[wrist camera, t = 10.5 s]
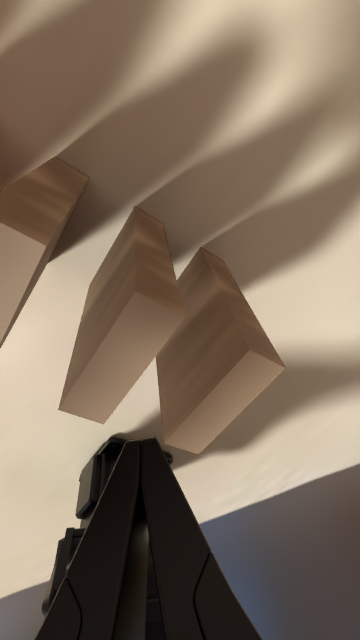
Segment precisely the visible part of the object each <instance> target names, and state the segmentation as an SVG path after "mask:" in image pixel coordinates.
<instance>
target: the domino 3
mask: <svg viewBox="0 0 360 640" xmlns="http://www.w3.org/2000/svg"><path fill="white" fill-rule="evenodd" d="M177 285H178V289H179V293H180V297H181V301H182V305H183V309H184V313H185V318H184V320H183V321H182V322H181V323H180V325H179V326H178V327H177V329H176V330H175V331H174V333H173V334H172V335H171V337H170V338H169V339H168V341H167V342H166V343H165V344H164V346H163V347H162V348H161V350H160V351H159V352H158V354H157V355H156V364H157V375H158V386H159V397H160V408H161V419H162V430H163V441H164V444H167V445H170V446H173V447H176V448H179V449H183V450H186V451H189V452H192V453H195V454H200V453H201V452H202V451H203V450H204V449H205V448H206V447H207V446H208V445H209V444H210V443H211V442H212V441H213V440H214V439H215V438H216V437H217V436H218V435H219V434H220V433H221V432H222V431H223V430H224V429H225V428H226V427H227V426H228V425H229V424H230V423H231V422H232V421H233V420H234V419H235V418H236V417H237V416H238V415H239V414H240V413H241V412H242V411H243V410H244V409H245V408H246V407H247V406H248V405H249V404H250V403H251V402H252V401H253V400H254V399H255V398H256V397H257V396H258V395H259V394H260V393H261V392H262V391H263V390H264V389H266V388H267V387H268V386H269V385H270V384H271V383H272V382H273V381H274V380H275V379H276V378H277V377H278V376H279V375H280V374H281V373H282V372H283V371H284V370H285V369H286V368H285V366H284V364H283V362H282V361H281V359H280V357H279V356H278V354H277V352H276V351H275V349H274V347H273V345H272V344H271V342H270V340H269V339H268V337H267V335H266V333H265V332H264V330H263V328H262V327H261V325H260V323H259V321H258V320H257V318H256V316H255V315H254V313H253V311H252V309H251V308H250V306H249V304H248V303H247V301H246V299H245V297H244V296H243V294H242V292H241V291H240V289H239V287H238V285H237V284H236V282H235V280H234V279H233V277H232V275H231V274H230V272H229V270H228V268H227V267H226V265H225V263H224V262H223V261H222V260H220V259H219V258H217V257H215V256H214V255H212V254H211V253H209V252H207V251H206V250H204V249H203V248H201V247H200V249H199V250H198V251H197V253H196V254H195V256H194V257H193V258H192V260H191V261H190V263H189V264H188V266H187V267H186V268H185V270H184V271H183V273H182V274H181V276H180V277H179V278H178V280H177Z"/></svg>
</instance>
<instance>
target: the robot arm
mask: <svg viewBox="0 0 360 640" xmlns="http://www.w3.org/2000/svg"><path fill="white" fill-rule="evenodd" d="M172 462H173V457H172V455H170V454H166V453H163V451H162V449H161V447H160V445H159V443H158V441H157V439H156V438H155V437H149V438H143V439H142V440H140V439H135V440H129V441H124V440H121V439H117V438H110V439H109V440H108V441H107V442H106V443H105V445H104V446H103V447H102V448H101V450H100V451H99V452H98V453H97V454H96V455H94V456H93V457H92V458H91V460H90V461H89V462H88V463H87V465H86V466H85V467H84V469H83V470H82V473H81V475H80V478H79V481H80V487H79V494H78V501H77V508H76V517H77V518H78V519H81V524H80V529H75V528H67V530H66V534H65V538H63V539H61V540H60V541H59V543H58V548H57V554H56V559H55V564H54V568H53V572H52V575H51V578H50V581H49V585H48V588H47V591H46V594H45V597H44V600H43V604H42V614H43V615H44V617H45V619H44V621H43V623H42V625H41V627H40V629H39V631H38V633H37V635H36V637H35V639H34V640H263V639H262V638H261V636H260V634H259V633H258V631H257V630H256V628H255V627H254V625H253V624H252V622H251V621H250V619H249V618H248V616H247V614H246V613H245V611H244V609H243V607H242V606H241V604H240V602H239V601H238V599H237V597H236V596H235V594H234V592H233V591H232V589H231V587H230V585H229V583H228V581H227V579H226V578H225V576H224V574H223V572H222V570H221V568H220V566H219V564H218V562H217V560H216V558H215V556H214V554H213V553H212V552H211V548H210V546H209V544H208V542H207V540H206V538H205V536H204V534H203V532H202V530H201V528H200V526H199V524H198V522H197V520H196V518H195V516H194V514H193V512H192V510H191V508H190V506H189V504H188V502H187V500H186V497H185V495H184V493H183V491H182V489H181V487H180V485H179V483H178V481H177V479H176V477H175V475H174V473H173V471H172V469H171V467H170V465H171V464H172Z"/></svg>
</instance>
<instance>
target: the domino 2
mask: <svg viewBox="0 0 360 640" xmlns="http://www.w3.org/2000/svg"><path fill="white" fill-rule="evenodd" d="M184 318H185V313H184V309H183V305H182V301H181V297H180V293H179V289H178V285H177V280H176V276H175V272H174V268H173V264H172V260H171V256H170V252H169V248H168V244H167V240H166V235H165V231H164V227H163V223H161V222H159V221H158V220H156V219H155V218H153V217H151V216H150V215H148V214H147V213H145V212H143V211H142V210H140V209H139V208H137V207H134V209H133V210H132V212H131V214H130V216H129V217H128V219H127V221H126V223H125V224H124V226H123V228H122V230H121V231H120V233H119V235H118V237H117V238H116V240H115V242H114V244H113V245H112V247H111V249H110V250H109V252H108V254H107V256H106V257H105V259H104V261H103V263H102V264H101V266H100V268H99V270H98V271H97V273H96V275H95V277H94V278H93V280H92V282H91V284H90V286H89V290H88V294H87V298H86V302H85V306H84V310H83V314H82V318H81V322H80V325H79V329H78V333H77V337H76V341H75V345H74V349H73V353H72V357H71V361H70V365H69V369H68V373H67V377H66V381H65V385H64V389H63V393H62V397H61V401H60V405H59V409H58V410H60V411H64V412H67V413H70V414H73V415H76V416H79V417H82V418H86V419H89V420H92V421H95V422H98V423H101V424H104V423H105V422H106V421H107V419H108V418H109V417H110V415H111V414H112V413H113V411H114V410H115V409H116V407H117V406H118V405H119V403H120V402H121V401H122V400H123V398H124V397H125V396H126V394H127V393H128V392H129V390H130V389H131V388H132V386H133V385H134V384H135V383H136V381H137V380H138V379H139V377H140V376H141V375H142V373H143V372H144V371H145V369H146V368H147V367H148V365H149V364H150V363H151V362H152V360H153V359H154V358H155V356H156V355H157V354H158V352H159V351H160V350H161V348H162V347H163V346H164V344H165V343H166V342H167V341H168V339H169V338H170V337H171V335H172V334H173V333H174V331H175V330H176V329H177V327H178V326H179V325H180V323H181V322H182V321H183V320H184Z"/></svg>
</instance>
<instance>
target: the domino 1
mask: <svg viewBox="0 0 360 640" xmlns="http://www.w3.org/2000/svg"><path fill="white" fill-rule="evenodd" d="M88 179H89V177H87V176H86V175H84V174H83V173H81V172H79V171H78V170H76V169H75V168H73V167H71V166H70V165H68V164H67V163H65V162H63V161H62V160H60V159H59V158H57V157H54V158H52V159H50V160H49V161H47V162H46V163H44V164H43V165H41V166H39V167H38V168H36V169H35V170H33V171H32V172H30V173H28V174H27V175H25V176H24V177H22V178H21V179H19V180H18V181H16V182H14V183H13V184H11V185H10V186H8V187H7V188H5V189H3V190H2V191H0V348H1V347H2V345H3V343H4V341H5V339H6V337H7V336H8V334H9V332H10V330H11V328H12V327H13V325H14V323H15V321H16V319H17V317H18V316H19V314H20V312H21V310H22V308H23V306H24V305H25V303H26V301H27V299H28V297H29V296H30V294H31V292H32V290H33V288H34V286H35V285H36V283H37V281H38V279H39V277H40V275H41V274H42V272H43V270H44V268H45V266H46V265H47V263H48V261H49V258H50V256H51V254H52V252H53V250H54V248H55V246H56V244H57V242H58V240H59V238H60V236H61V234H62V232H63V230H64V228H65V226H66V224H67V222H68V220H69V218H70V216H71V214H72V211H73V209H74V207H75V205H76V203H77V201H78V199H79V197H80V195H81V193H82V191H83V189H84V187H85V185H86V183H87V181H88Z"/></svg>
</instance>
